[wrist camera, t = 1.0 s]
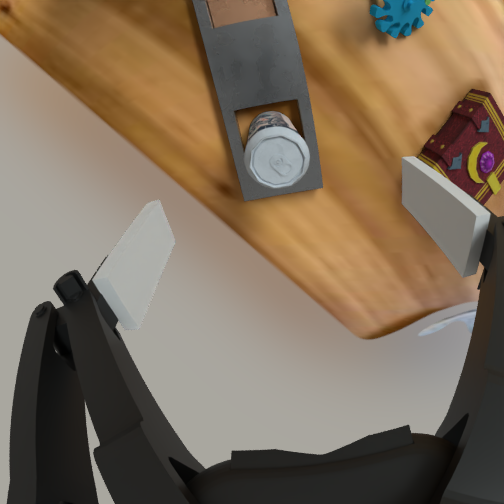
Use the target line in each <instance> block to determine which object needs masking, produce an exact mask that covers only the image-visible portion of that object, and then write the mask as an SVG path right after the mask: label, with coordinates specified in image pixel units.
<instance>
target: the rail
mask: <svg viewBox="0 0 504 504" xmlns="http://www.w3.org/2000/svg"><path fill="white" fill-rule="evenodd" d="M192 1H193V4H194V8H195V12H196V16H197V19H198V23H199V27H200V31H201V35H202V38H203V42H204V46H205V50H206V54H207V58H208V61H209V65H210V69H211V73H212V77H213V81H214V84H215V88H216V92H217V96H218V100H219V104H220V107H221V111H222V115H223V119H224V123H225V127H226V131H227V135H228V139H229V142H230V146H231V150H232V154H233V158H234V162H235V166H236V170H237V174H238V178H239V182H240V186H241V189H242V193H243V197H244V201H249V200H254V199H260V198H265V197H271V196H276V195H282V194H288V193H294V192H300V191H306V190H312V189H319V188H323V183H322V175H321V167H320V160H319V153H318V146H317V139H316V133H315V127H314V121H313V115H312V109H311V104H310V98H309V93H308V88H307V83H306V78H305V73H304V68H303V63H302V59H301V54H300V50H299V46H298V41H297V37H296V33H295V29H294V25H293V21H292V18H291V14H290V10H289V7H288V3H287V0H273V2H272V0H192ZM207 1H208V4H207ZM273 3H274V6H273ZM208 5H209V8H210V11H209V8H208ZM274 7H275V10H276V13H275V10H274ZM210 12H211V15H210ZM276 14H277V16H276ZM211 16H212V19H211ZM212 20H213V23H214V26H213V23H212ZM214 27H215V28H214ZM294 99H296V100H297V106H298V111H299V116H300V122H301V127H302V133H303V139H304V141H305V142H306V144H307V146H308V149H309V154H310V161H309V166H308V169H307V171H306V173H305V175H304V176H303V177H302V178H301V179H300V180H299V181H298V182H297V183H295V184H293V185H291V186H289V187H285V188H279V189H273V188H269V187H265V186H262V185H261V184H259V183H258V182H256V181H255V180H254V179H253V178H252V177H251V176H250V175H249V173H248V171H247V170H246V167H245V163H244V152H245V149H244V145H243V141H242V137H241V133H240V129H239V125H238V121H237V116H236V112H235V110H239V109H244V108H248V107H253V106H258V105H264V104H269V103H275V102H281V101H287V100H294Z"/></svg>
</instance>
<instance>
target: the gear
mask: <svg viewBox="0 0 504 504" xmlns="http://www.w3.org/2000/svg"><path fill="white" fill-rule="evenodd" d="M383 1H384V2H385V6H384V7H383V8H380V7H379V6H377V5H375V4H373V5H371V7H370V14H371V15H372V16H374V17H376V18H380V17H382V16H384V15H388V16H387V18H386V19H385V20H382V19H378V20H376V22H375V25H376V27H377V29H378V30H380V31H381V32H385V31H386V33H388V34H389V35H391V36H392V37H394V38H397V36H398V35H399V32H400V33H402V34H403V35H404V36H409V35H411V32H412V30H411V27H412V25H413V26H415V27H416V28H420V27H422V26H423V25H424V22H423V21H422V19H421V12H422V13H424V14H425V15H427V16H429V15H430V14H431V13H432V11H433V9H432V8H431V7H429V6H427V5H429V4H430V2H431V1H434V0H383ZM391 25H392V26H391Z"/></svg>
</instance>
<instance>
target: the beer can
mask: <svg viewBox="0 0 504 504" xmlns="http://www.w3.org/2000/svg"><path fill="white" fill-rule="evenodd" d="M309 161H310V154H309V149H308V146H307V144H306V142H305V141H304V139H303V138H302V137H301V136H300V134H299V133H298V132H297V130H296V129H295V127H294V126H293V124H292V123H291V121H290V120H289V118H288V117H286V116H285V115H284V114H282V113H280V112H276V111H268V112H264V113H261V114H259V115H258V116H257V117H256V118H255V119H254V120H253V121H252V123H251V125H250V128H249V135H248V140H247V145H246V149H245V152H244V163H245V167H246V170H247V171H248V173H249V175H250V176H251V177H252V178H253V179H254V180H255V181H256V182H258V183H259V184H261V185H262V186H265V187H269V188H273V189H279V188H285V187H289V186H291V185H293V184H295V183H297V182H298V181H299V180H300V179H301V178H302V177H303V176H304V175H305V173H306V171H307V169H308V166H309Z"/></svg>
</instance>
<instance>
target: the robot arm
mask: <svg viewBox="0 0 504 504" xmlns="http://www.w3.org/2000/svg"><path fill="white" fill-rule="evenodd" d="M402 204H403V206H404V207H405V208H406V209H407V210H408V211H409V212H410V213H411V214H412V215H413V217H414V218H415V219H416V220H417V221H418V222H419V223H420V225H421V226H422V227H423V228H424V229H425V230H426V232H427V233H428V234H429V235H430V236H431V237H432V239H433V240H434V241H435V242H436V244H437V245H438V246H439V247H440V249H441V250H442V251H443V252H444V254H445V255H446V256H447V257H448V259H449V260H450V261H451V263H452V264H453V265H454V267H455V268H456V269H457V271H458V272H459V273H460V275H461V276H462V278H463V277H467V276H470V275H474V274H476V272H477V268H478V265H479V261H480V262H481V264H482V265H483V266H484V270H483V273H482V276H481V279H480V282H479V285H478V288H477V289H478V290H480V294H479V300H478V306H477V312H476V317H475V322H474V327H473V332H472V336H471V340H470V344H469V348H468V352H467V356H466V359H465V363H464V367H463V370H462V373H461V376H460V380H459V383H458V385H457V389H456V391H455V394H454V397H453V400H452V402H451V405H450V408H449V410H448V413H447V415H446V417H445V419H444V421H443V422H442V424H441V426H440V427H439V429H438V431H437V432H436V434H435V436H434V435H429V434H420V433H411V431H410V427H409V425H406V426H403V427H399V428H396V429H393V430H388V431H385V432H381V433H377V434H373V435H368V436H366V437H364V438H362V439H360V440H358V441H355V442H353V443H351V444H349V445H346V446H344V447H342V448H340V449H337V450H335V451H332V452H329V453H327V454H323V455H316V454H306V453H298V452H290V451H283V450H276V449H271V450H248V451H247V450H246V451H232V453H231V460H227V461H224V462H221V463H218V464H216V465H214V466H211V467H209V468H208V469H205V468H204V467H203V466H202V465H201V464H200V463H199V462H198V461H197V460H196V459H195V458H194V457H193V456H192V455H191V454H190V452H189V451H188V450H187V448H186V447H185V446H184V444H183V443H182V441H181V440H180V438H179V437H178V435H177V434H176V433H175V431H174V429H173V428H172V426H171V425H170V423H169V422H168V420H167V419H166V417H165V416H164V414H163V413H162V411H161V409H160V408H159V406H158V404H157V403H156V401H155V399H154V398H153V396H152V394H151V392H150V391H149V389H148V387H147V385H146V384H145V382H144V380H143V379H142V377H141V375H140V373H139V371H138V369H137V367H136V365H135V363H134V361H133V360H132V358H131V356H130V354H129V352H128V350H127V348H126V346H125V344H124V341H123V339H122V337H121V335H120V333H119V332H118V330H117V329H116V328H115V327H116V324H117V322H118V321H119V322H120V323H121V325H122V326H123V328H124V329H125V330H135V329H140V327H141V325H142V322H143V320H144V317H145V314H146V312H147V309H148V307H149V304H150V302H151V299H152V297H153V294H154V292H155V289H156V287H157V284H158V282H159V280H160V277H161V275H162V273H163V270H164V268H165V265H166V263H167V261H168V259H169V256H170V254H171V252H172V250H173V248H174V245H175V243H176V241H175V238H174V236H173V233H172V231H171V228H170V226H169V223H168V221H167V218H166V215H165V213H164V210H163V208H162V205H161V202H160V200H156V201H152V202H149V203H147V204H146V205H145V207H144V208H143V209H142V211H141V212H140V213H139V214H138V215H137V217H136V218H135V219H134V221H133V222H132V224H131V225H130V226H129V228H128V229H127V230H126V231H125V233H124V234H123V236H122V237H121V238H120V240H119V241H118V243H117V244H116V245H115V247H114V248H113V250H112V251H111V252H110V254H109V255H108V256H107V257H106V258H105V259H104V260H103V262H102V263H101V266H99V268H98V269H97V272H95V274H94V275H93V277H92V278H91V280H90V281H89V283H88V285H87V284H86V283H85V281H84V280H83V278H82V276H81V275H80V273H79V272H78V271H77V270H73V271H70V272H68V273H66V274H64V275H63V276H62V277H60V278H59V279H58V281H57V282H56V283H55V285H54V288H53V289H54V291H55V292H56V294H57V295H58V297H59V298H60V300H61V301H62V302H63V304H64V306H62V307H60V308H57V309H55V307H54V306H53V304H52V303H51V302H50V301H47V302H44V303H42V304H39V305H38V307H36V308H35V310H34V311H33V313H32V315H31V318H30V321H29V325H28V328H27V332H26V336H25V340H24V344H23V349H22V353H21V358H20V362H19V367H18V373H17V378H16V384H15V391H14V399H13V406H12V416H11V429H10V484H9V491H8V499H7V504H99V503H98V498H97V492H96V487H95V482H94V477H93V471H92V465H91V459H90V452H89V445H88V437H87V427H86V415H85V402H86V405H87V408H88V411H89V414H90V417H91V420H92V423H93V426H94V429H95V431H96V434H97V436H98V439H99V442H100V446H99V447H96V448H95V449H94V452H93V454H94V458H95V461H96V464H97V466H98V469H99V471H100V473H101V475H102V478H103V480H104V482H105V484H106V486H107V489H108V491H109V493H110V495H111V497H112V499H113V501H114V503H115V504H504V216H501V217H497V216H496V215H495V214H493V213H492V212H491V211H490V210H489V209H488V208H486V207H485V206H483V204H482V203H480V202H478V200H477V199H476V198H474V197H473V196H472V195H470V194H468V193H466V192H464V191H463V190H461V189H460V188H459V187H457V186H456V185H455V184H453V183H452V182H451V181H449V180H448V179H447V178H445V177H444V176H442V175H441V174H440V173H438V172H437V171H435V170H434V169H432V168H431V167H429V166H428V165H426V164H425V163H423V162H422V161H420V160H419V159H417V158H416V157H414V156H410V157H402ZM55 350H56V351H57V353H56V351H55Z"/></svg>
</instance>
